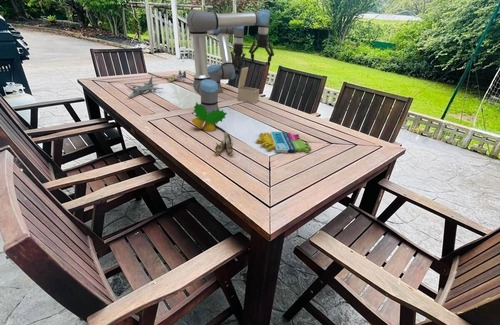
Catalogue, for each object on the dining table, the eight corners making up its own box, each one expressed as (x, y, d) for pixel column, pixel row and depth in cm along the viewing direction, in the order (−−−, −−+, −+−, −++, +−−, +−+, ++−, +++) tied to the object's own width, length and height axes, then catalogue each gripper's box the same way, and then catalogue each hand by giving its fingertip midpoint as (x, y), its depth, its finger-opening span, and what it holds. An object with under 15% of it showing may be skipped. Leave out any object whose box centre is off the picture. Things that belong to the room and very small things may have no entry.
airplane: (122, 88, 234) (120, 76, 229) (158, 85, 247) (157, 74, 242) (127, 100, 206) (124, 88, 201) (167, 97, 219) (166, 85, 214)
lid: (248, 67, 218) (239, 64, 221) (243, 68, 211) (234, 65, 213) (244, 85, 227) (236, 82, 229) (239, 88, 219) (230, 84, 221)
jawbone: (234, 135, 144) (233, 125, 135) (233, 160, 138) (232, 151, 129) (217, 135, 144) (216, 125, 135) (216, 160, 138) (214, 150, 129)
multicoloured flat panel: (313, 150, 142) (258, 149, 139) (312, 153, 143) (258, 152, 140) (301, 132, 164) (254, 130, 161) (301, 134, 165) (254, 133, 162)
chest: (258, 100, 227) (259, 89, 222) (253, 103, 219) (254, 91, 214) (243, 97, 232) (243, 86, 228) (237, 99, 225) (238, 88, 220)
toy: (194, 71, 284) (182, 76, 258) (194, 78, 288) (182, 83, 262) (171, 69, 289) (156, 73, 263) (171, 75, 293) (157, 80, 267)
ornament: (218, 133, 171) (224, 110, 169) (221, 134, 163) (227, 111, 161) (186, 125, 162) (192, 101, 160) (189, 126, 155) (195, 101, 153)
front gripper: (280, 35, 190) (277, 66, 200) (250, 32, 199) (248, 61, 209) (277, 35, 184) (273, 67, 194) (245, 32, 193) (243, 62, 203)
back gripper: (248, 44, 209) (247, 74, 220) (232, 42, 214) (231, 72, 226) (244, 44, 203) (242, 76, 214) (227, 42, 208) (227, 73, 220)
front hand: (260, 64), depth 202 cm, fingers open, 13 cm apart
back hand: (237, 73), depth 220 cm, fingers closed on lid, 2 cm apart
